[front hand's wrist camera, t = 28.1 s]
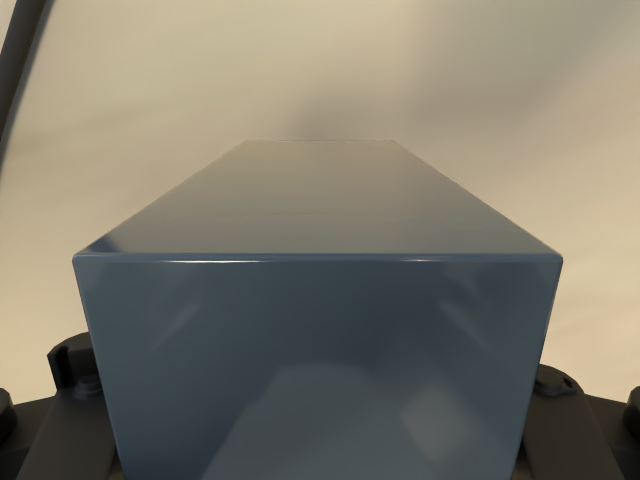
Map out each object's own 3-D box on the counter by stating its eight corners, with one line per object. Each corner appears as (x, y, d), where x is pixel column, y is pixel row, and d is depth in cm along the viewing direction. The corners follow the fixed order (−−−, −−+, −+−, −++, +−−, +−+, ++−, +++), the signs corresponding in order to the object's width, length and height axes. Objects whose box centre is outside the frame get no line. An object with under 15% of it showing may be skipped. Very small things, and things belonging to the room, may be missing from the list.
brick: (395, 140, 14) (568, 255, 4) (381, 351, 18) (463, 697, 8) (243, 140, 14) (67, 255, 4) (257, 351, 18) (174, 697, 8)
